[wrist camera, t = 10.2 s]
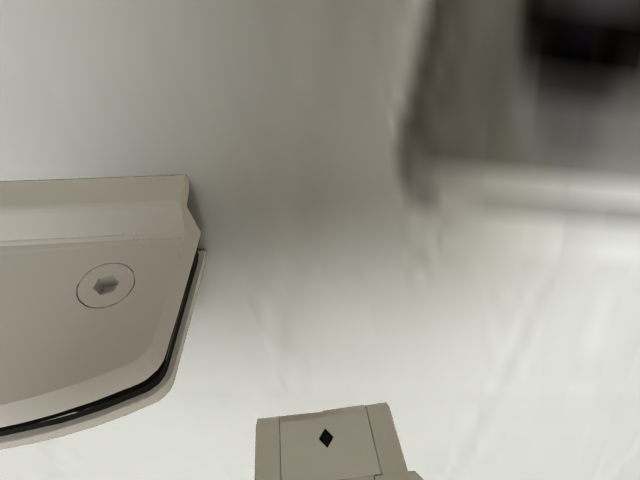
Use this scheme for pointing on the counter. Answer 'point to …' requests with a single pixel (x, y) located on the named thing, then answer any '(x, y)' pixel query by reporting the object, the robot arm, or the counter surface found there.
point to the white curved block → (91, 299)
